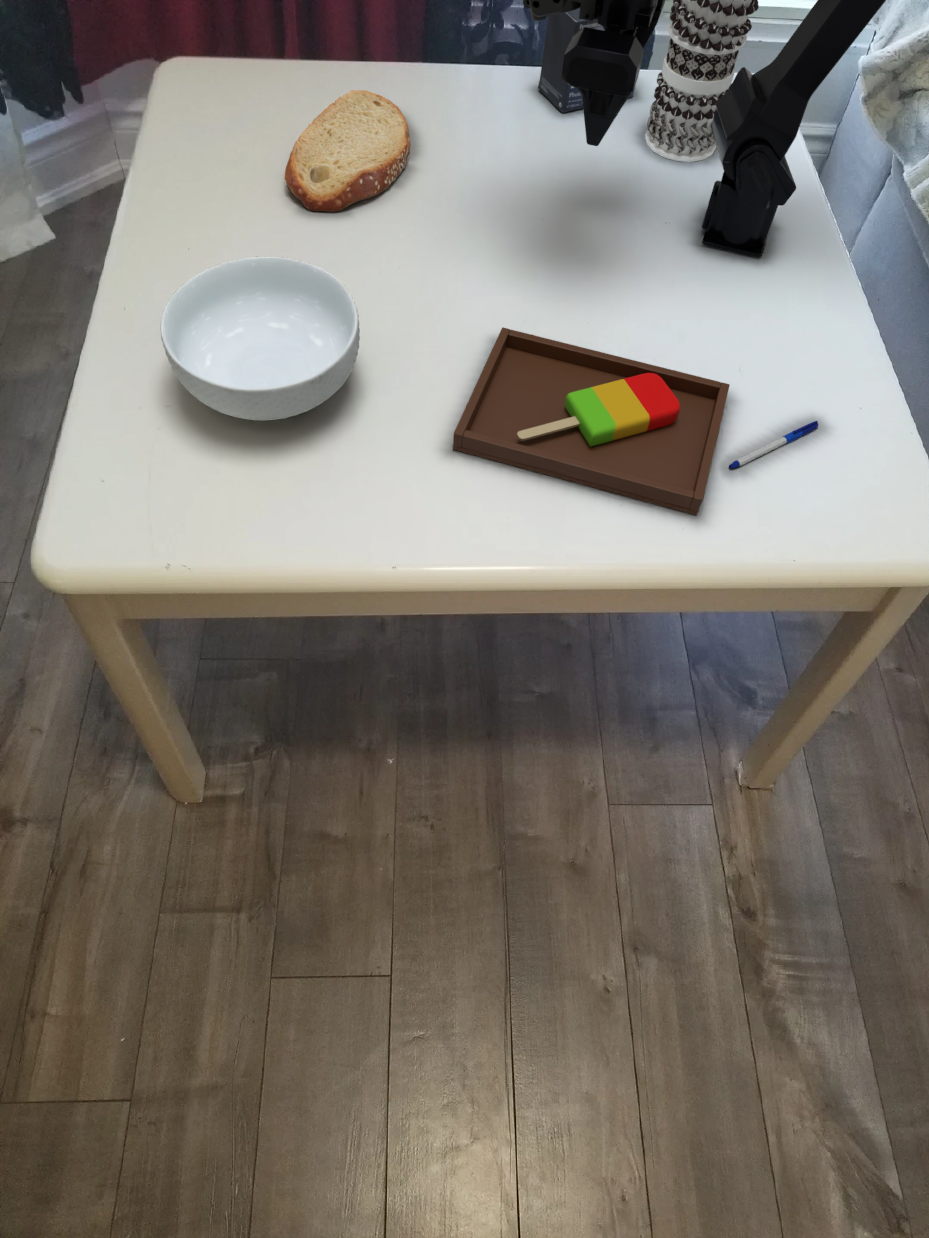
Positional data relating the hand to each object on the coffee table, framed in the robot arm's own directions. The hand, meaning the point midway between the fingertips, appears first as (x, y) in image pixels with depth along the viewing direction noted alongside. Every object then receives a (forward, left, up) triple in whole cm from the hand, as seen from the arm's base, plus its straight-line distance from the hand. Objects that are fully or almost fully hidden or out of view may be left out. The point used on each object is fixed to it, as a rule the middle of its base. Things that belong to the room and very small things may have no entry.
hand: (602, 119), depth 88 cm
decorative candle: (-7, -21, -12) cm, 26 cm away
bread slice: (+28, -3, -12) cm, 31 cm away
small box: (+6, -27, -12) cm, 31 cm away
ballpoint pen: (-24, +25, -12) cm, 36 cm away
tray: (-8, +28, -12) cm, 31 cm away
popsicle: (-8, +28, -12) cm, 31 cm away
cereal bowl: (+21, +33, -12) cm, 41 cm away
